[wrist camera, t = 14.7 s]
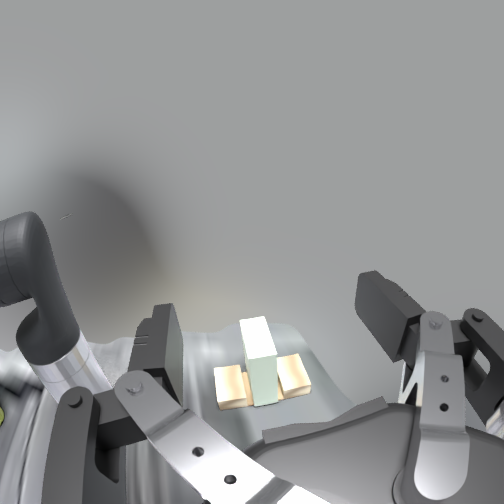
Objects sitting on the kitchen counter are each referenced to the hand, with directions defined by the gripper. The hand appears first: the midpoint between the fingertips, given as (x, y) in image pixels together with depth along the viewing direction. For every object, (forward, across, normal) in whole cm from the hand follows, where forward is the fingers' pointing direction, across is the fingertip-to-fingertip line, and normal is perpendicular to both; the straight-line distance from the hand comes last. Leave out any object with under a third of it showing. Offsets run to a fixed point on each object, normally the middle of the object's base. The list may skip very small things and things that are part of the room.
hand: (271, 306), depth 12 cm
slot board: (+19, -2, +30) cm, 36 cm away
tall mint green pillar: (+19, -2, +30) cm, 35 cm away
